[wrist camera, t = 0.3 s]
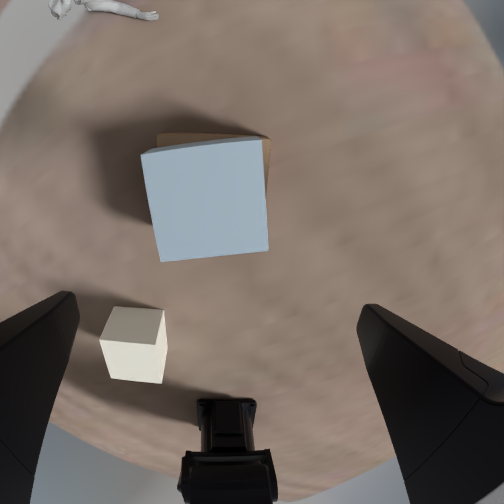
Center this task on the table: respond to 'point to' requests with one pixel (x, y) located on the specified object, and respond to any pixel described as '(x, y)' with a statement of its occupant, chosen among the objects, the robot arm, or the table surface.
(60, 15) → the soldier figure
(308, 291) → the table surface
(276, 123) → the table surface
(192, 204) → the tower mid
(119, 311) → the cube
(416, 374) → the robot arm
